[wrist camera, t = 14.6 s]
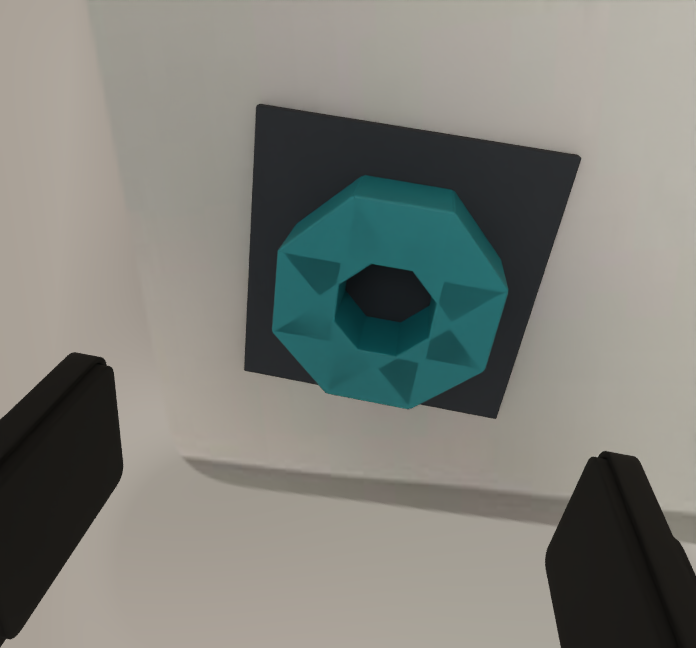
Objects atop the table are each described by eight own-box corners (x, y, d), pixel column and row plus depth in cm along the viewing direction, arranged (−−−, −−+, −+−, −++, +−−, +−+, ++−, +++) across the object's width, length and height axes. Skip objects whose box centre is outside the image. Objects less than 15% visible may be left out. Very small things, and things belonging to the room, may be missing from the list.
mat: (246, 365, 23) (243, 371, 22) (259, 103, 18) (256, 105, 17) (495, 413, 22) (496, 419, 22) (579, 154, 17) (582, 157, 17)
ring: (284, 347, 22) (267, 382, 20) (300, 163, 18) (282, 182, 16) (467, 382, 21) (469, 422, 19) (518, 200, 18) (529, 225, 16)
